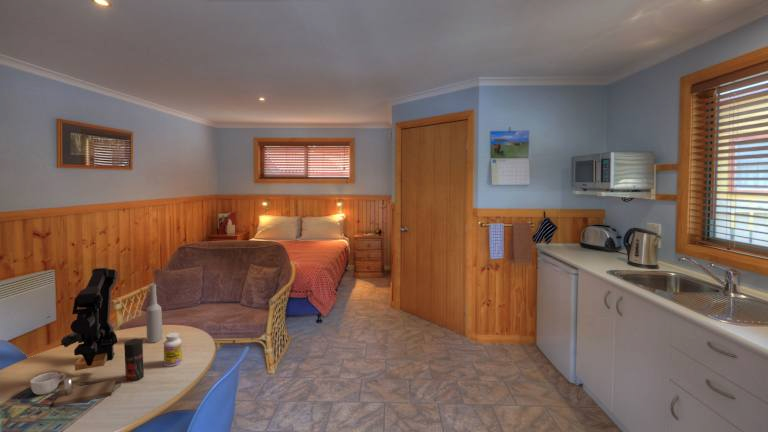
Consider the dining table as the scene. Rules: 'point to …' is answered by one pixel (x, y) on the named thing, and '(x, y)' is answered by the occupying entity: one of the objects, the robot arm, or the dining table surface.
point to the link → (98, 361)
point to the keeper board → (86, 393)
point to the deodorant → (134, 360)
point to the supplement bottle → (172, 350)
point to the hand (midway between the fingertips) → (91, 362)
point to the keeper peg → (68, 386)
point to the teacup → (45, 382)
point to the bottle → (154, 318)
